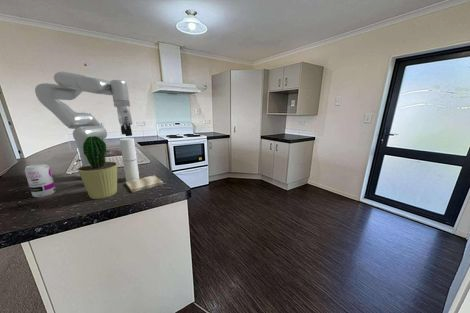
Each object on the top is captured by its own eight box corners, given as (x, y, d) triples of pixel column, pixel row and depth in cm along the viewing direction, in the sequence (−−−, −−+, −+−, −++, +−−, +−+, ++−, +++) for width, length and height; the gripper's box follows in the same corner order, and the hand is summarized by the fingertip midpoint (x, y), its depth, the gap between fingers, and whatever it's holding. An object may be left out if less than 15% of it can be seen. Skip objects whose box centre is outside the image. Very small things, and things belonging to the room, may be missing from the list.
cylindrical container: (129, 182, 103) (122, 140, 97) (124, 179, 107) (117, 139, 101) (141, 178, 109) (136, 138, 103) (136, 176, 113) (130, 137, 107)
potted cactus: (93, 204, 79) (79, 138, 71) (78, 196, 86) (63, 135, 79) (127, 191, 92) (118, 134, 84) (112, 185, 99) (102, 132, 92)
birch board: (132, 192, 91) (131, 189, 90) (125, 184, 101) (125, 181, 100) (163, 184, 101) (162, 181, 101) (154, 177, 111) (154, 175, 111)
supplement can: (55, 189, 94) (47, 162, 90) (57, 193, 89) (49, 165, 85) (32, 194, 88) (23, 165, 84) (33, 199, 83) (23, 169, 79)
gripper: (133, 103, 93) (138, 135, 98) (126, 104, 106) (130, 133, 110) (117, 103, 88) (122, 137, 93) (111, 104, 101) (116, 134, 105)
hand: (126, 135), depth 101 cm, fingers open, 9 cm apart
